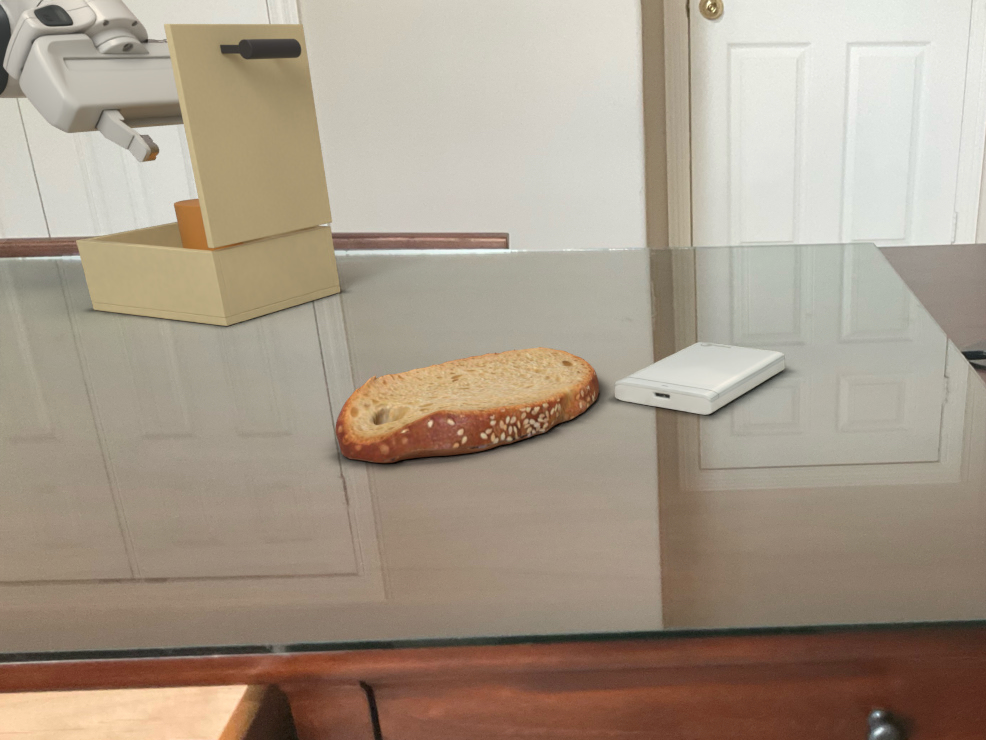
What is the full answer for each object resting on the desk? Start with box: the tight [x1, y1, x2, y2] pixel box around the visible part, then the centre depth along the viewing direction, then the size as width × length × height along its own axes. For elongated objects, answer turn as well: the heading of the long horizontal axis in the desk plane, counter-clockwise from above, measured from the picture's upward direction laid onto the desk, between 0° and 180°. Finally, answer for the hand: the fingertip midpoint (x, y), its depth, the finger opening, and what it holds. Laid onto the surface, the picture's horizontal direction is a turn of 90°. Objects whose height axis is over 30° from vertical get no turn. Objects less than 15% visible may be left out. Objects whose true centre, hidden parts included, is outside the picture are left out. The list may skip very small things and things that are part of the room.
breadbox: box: [75, 221, 341, 327], centre depth 109 cm, size 18×16×7 cm
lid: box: [163, 23, 333, 248], centre depth 100 cm, size 18×16×4 cm
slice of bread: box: [334, 346, 600, 464], centre depth 76 cm, size 18×18×4 cm
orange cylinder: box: [173, 198, 243, 251], centre depth 109 cm, size 6×6×9 cm
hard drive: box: [614, 341, 786, 416], centre depth 83 cm, size 2×8×12 cm
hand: (192, 152), depth 104 cm, fingers open, 8 cm apart
